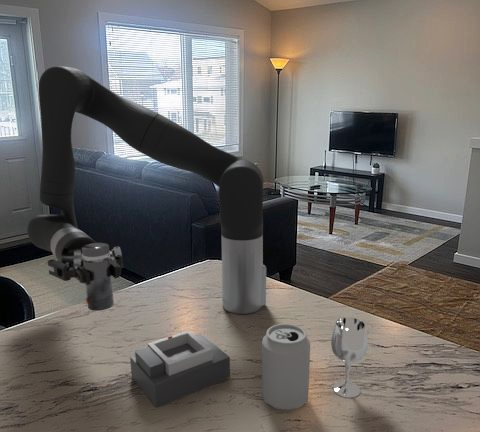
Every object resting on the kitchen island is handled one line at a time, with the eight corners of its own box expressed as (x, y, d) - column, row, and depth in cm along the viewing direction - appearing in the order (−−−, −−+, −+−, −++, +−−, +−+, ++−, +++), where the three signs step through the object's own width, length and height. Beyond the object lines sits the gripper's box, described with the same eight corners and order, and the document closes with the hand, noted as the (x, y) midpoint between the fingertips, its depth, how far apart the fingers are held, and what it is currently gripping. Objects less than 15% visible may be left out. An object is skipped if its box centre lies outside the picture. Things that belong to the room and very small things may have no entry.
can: (306, 417, 73) (309, 346, 69) (258, 410, 74) (258, 341, 71) (309, 387, 80) (312, 322, 77) (265, 382, 81) (266, 318, 78)
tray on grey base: (201, 352, 91) (200, 322, 89) (230, 377, 83) (229, 344, 81) (131, 377, 83) (129, 344, 81) (156, 407, 75) (154, 372, 73)
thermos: (109, 297, 88) (104, 240, 85) (118, 306, 85) (113, 248, 82) (83, 303, 86) (77, 246, 83) (91, 313, 82) (85, 253, 79)
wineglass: (344, 404, 75) (348, 336, 72) (321, 385, 80) (324, 320, 77) (371, 393, 78) (376, 327, 75) (348, 375, 83) (352, 312, 80)
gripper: (34, 237, 90) (57, 264, 76) (107, 225, 98) (140, 247, 84) (38, 274, 92) (62, 306, 78) (110, 259, 100) (143, 286, 86)
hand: (102, 275), depth 81 cm, fingers closed on thermos, 4 cm apart
